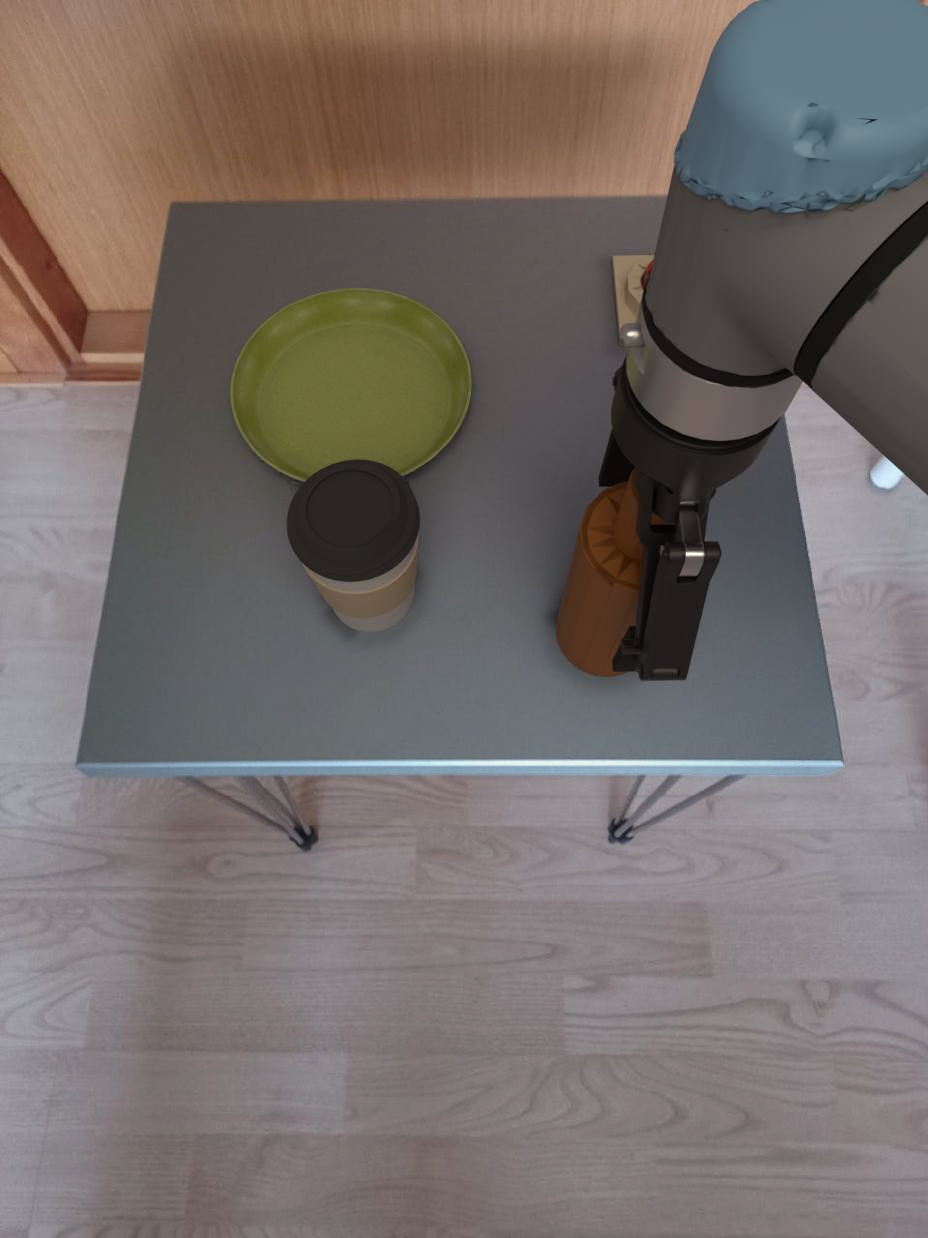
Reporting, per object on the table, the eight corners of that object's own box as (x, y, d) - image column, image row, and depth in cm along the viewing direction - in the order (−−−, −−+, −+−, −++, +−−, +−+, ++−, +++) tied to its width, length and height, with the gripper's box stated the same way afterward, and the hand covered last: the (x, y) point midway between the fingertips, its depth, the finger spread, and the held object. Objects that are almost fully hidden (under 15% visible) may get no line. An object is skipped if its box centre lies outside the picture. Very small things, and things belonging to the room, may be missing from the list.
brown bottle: (671, 628, 69) (759, 480, 48) (610, 696, 67) (675, 574, 46) (597, 570, 71) (650, 403, 50) (536, 634, 69) (565, 489, 48)
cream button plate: (707, 344, 79) (714, 326, 77) (619, 346, 79) (623, 327, 77) (695, 259, 83) (701, 239, 81) (611, 260, 83) (615, 240, 81)
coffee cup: (294, 589, 71) (251, 499, 57) (379, 522, 73) (357, 419, 59) (366, 667, 68) (338, 593, 54) (451, 596, 70) (446, 506, 56)
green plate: (464, 512, 73) (463, 493, 70) (221, 500, 74) (211, 480, 71) (477, 315, 81) (478, 290, 78) (257, 305, 81) (249, 280, 78)
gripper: (603, 168, 43) (560, 413, 63) (646, 639, 34) (580, 753, 54) (754, 166, 43) (663, 412, 63) (835, 637, 34) (700, 752, 54)
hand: (625, 570), depth 59 cm, fingers open, 13 cm apart
